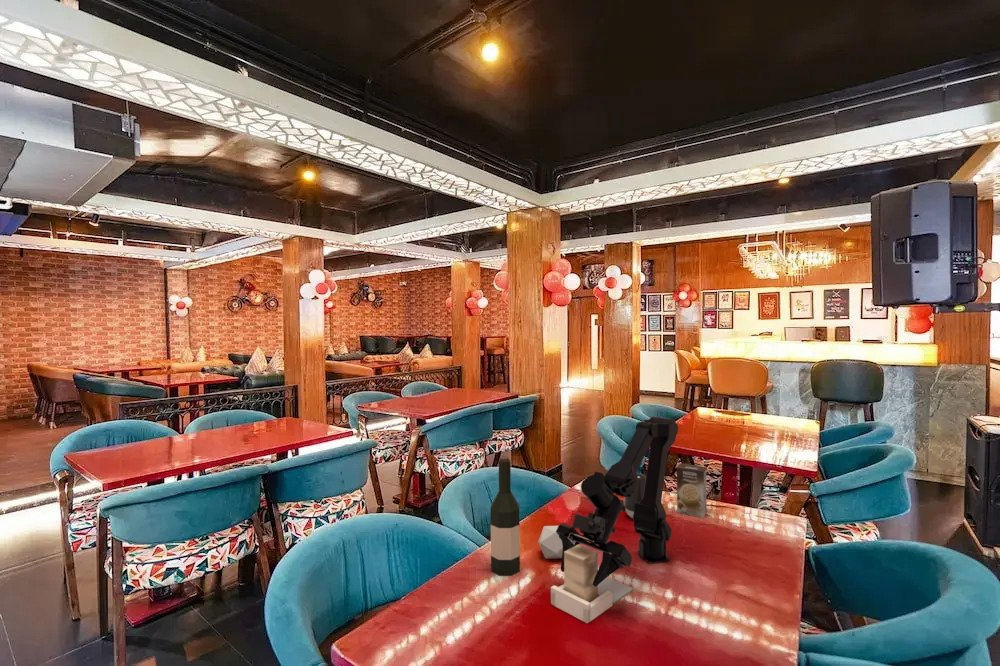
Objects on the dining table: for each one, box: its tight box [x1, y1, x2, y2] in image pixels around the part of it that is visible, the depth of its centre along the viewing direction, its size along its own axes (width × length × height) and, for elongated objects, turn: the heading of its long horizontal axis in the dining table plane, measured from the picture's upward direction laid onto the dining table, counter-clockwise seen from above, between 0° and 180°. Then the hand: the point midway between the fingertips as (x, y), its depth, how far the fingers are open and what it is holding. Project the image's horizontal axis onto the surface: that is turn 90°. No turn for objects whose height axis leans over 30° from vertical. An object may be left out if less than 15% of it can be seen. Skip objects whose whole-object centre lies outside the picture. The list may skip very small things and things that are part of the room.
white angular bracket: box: [550, 583, 614, 624], centre depth 111 cm, size 10×10×4 cm
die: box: [537, 525, 563, 560], centre depth 135 cm, size 8×9×10 cm
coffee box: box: [676, 462, 707, 519], centre depth 166 cm, size 9×6×16 cm
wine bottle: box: [490, 456, 521, 577], centre depth 128 cm, size 8×8×30 cm
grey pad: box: [598, 576, 634, 604], centre depth 118 cm, size 8×10×1 cm
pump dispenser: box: [623, 472, 646, 519], centre depth 162 cm, size 10×10×15 cm
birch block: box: [563, 544, 599, 603], centre depth 111 cm, size 6×6×12 cm
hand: (577, 578), depth 110 cm, fingers open, 9 cm apart
